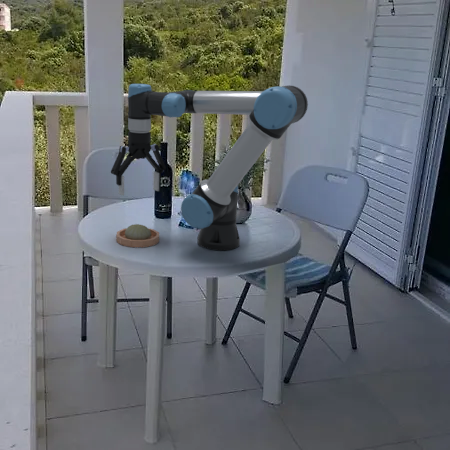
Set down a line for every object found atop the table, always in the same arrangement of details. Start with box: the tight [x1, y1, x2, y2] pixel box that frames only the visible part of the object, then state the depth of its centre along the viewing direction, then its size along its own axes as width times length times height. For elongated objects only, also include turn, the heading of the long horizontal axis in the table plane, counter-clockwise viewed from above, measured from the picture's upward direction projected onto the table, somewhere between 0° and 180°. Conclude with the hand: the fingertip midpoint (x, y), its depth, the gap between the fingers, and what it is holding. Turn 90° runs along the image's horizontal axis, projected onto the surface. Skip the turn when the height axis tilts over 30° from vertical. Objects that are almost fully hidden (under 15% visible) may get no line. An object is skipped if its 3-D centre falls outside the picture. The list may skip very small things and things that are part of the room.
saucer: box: [115, 227, 160, 249], centre depth 204 cm, size 15×15×2 cm
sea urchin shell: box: [125, 223, 151, 240], centre depth 204 cm, size 9×8×8 cm
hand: (139, 192), depth 199 cm, fingers open, 13 cm apart
